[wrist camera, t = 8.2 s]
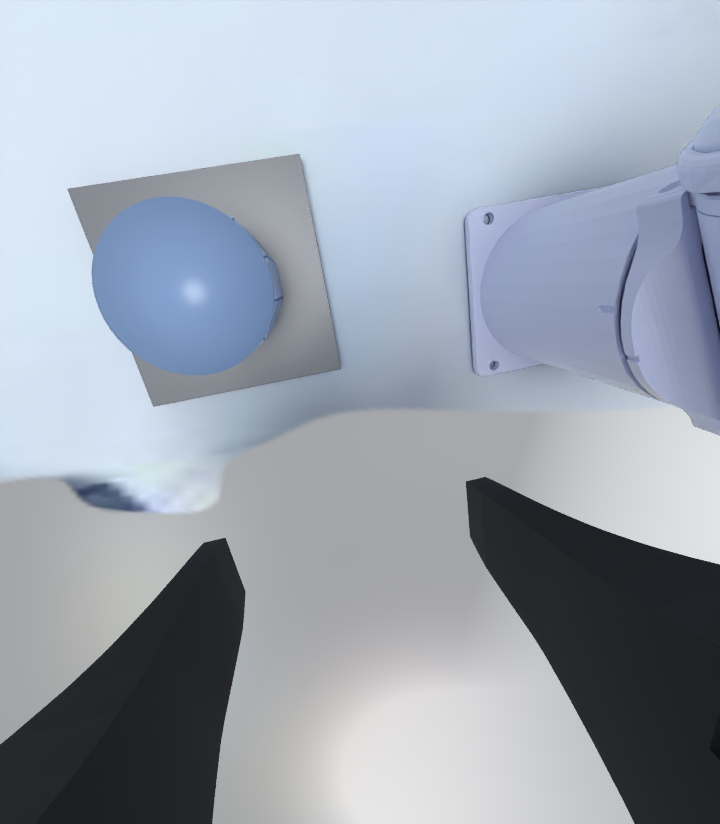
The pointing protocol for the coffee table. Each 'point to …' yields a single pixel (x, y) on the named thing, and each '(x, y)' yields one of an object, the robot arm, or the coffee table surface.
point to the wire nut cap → (185, 285)
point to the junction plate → (279, 236)
